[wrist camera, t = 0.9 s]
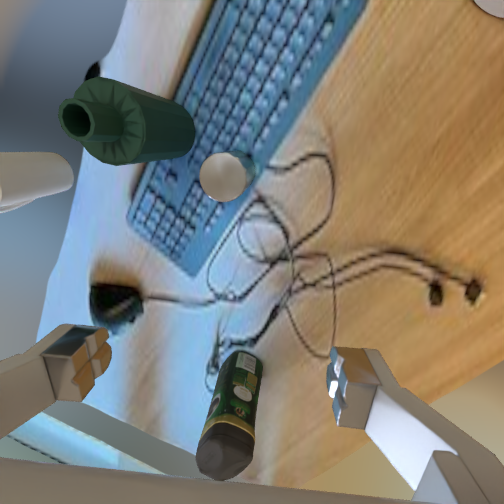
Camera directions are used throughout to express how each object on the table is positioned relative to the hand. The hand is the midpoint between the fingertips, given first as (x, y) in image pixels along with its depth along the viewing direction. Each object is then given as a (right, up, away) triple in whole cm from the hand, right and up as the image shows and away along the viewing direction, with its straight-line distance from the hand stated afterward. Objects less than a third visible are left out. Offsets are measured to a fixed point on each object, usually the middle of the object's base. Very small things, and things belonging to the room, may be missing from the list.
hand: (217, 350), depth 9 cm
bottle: (-11, +21, +28) cm, 37 cm away
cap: (-1, +16, +29) cm, 33 cm away
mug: (-32, +16, +34) cm, 49 cm away
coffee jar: (-1, -21, +45) cm, 49 cm away
